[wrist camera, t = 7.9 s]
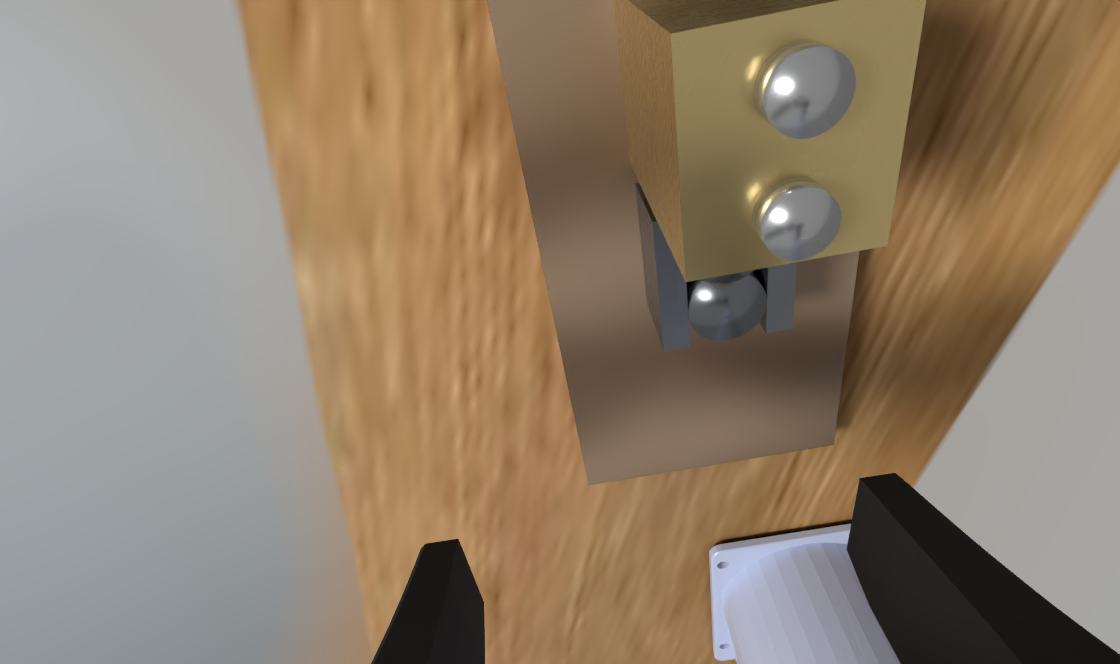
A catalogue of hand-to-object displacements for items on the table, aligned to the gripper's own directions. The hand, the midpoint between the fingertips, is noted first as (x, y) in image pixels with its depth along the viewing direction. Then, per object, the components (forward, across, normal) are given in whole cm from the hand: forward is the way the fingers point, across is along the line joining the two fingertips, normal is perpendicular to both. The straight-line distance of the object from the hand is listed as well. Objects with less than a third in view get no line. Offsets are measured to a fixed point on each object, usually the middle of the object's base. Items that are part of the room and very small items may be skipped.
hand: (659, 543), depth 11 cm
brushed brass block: (+8, -3, -6) cm, 11 cm away
